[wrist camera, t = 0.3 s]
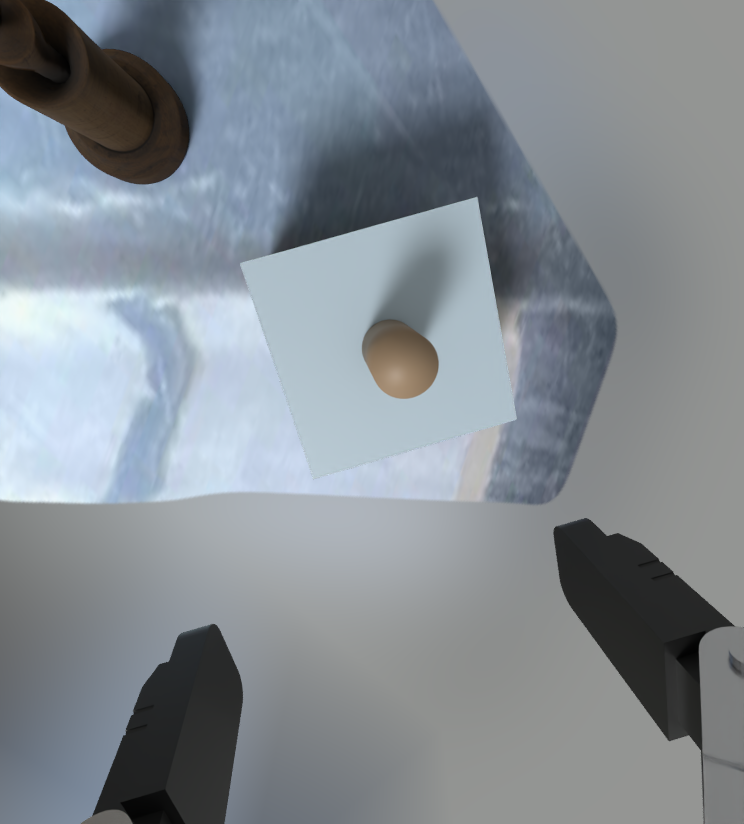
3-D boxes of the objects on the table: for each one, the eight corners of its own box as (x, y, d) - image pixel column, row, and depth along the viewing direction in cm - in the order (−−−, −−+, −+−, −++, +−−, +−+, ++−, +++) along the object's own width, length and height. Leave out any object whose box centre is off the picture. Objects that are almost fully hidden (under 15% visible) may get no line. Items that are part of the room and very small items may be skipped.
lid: (242, 263, 26) (222, 264, 21) (471, 199, 27) (514, 182, 21) (313, 472, 30) (313, 521, 25) (510, 414, 31) (555, 449, 25)
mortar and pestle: (52, 109, 29) (-319, -104, 12) (134, 37, 28) (-135, -295, 11) (135, 206, 31) (-83, 142, 14) (212, 141, 30) (84, -9, 13)
